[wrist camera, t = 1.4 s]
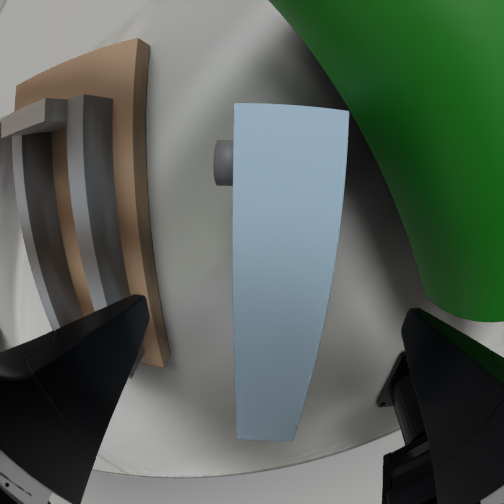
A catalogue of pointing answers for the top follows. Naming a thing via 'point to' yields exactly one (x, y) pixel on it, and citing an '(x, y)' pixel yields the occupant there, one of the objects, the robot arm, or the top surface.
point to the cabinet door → (281, 253)
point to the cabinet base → (88, 187)
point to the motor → (427, 127)
